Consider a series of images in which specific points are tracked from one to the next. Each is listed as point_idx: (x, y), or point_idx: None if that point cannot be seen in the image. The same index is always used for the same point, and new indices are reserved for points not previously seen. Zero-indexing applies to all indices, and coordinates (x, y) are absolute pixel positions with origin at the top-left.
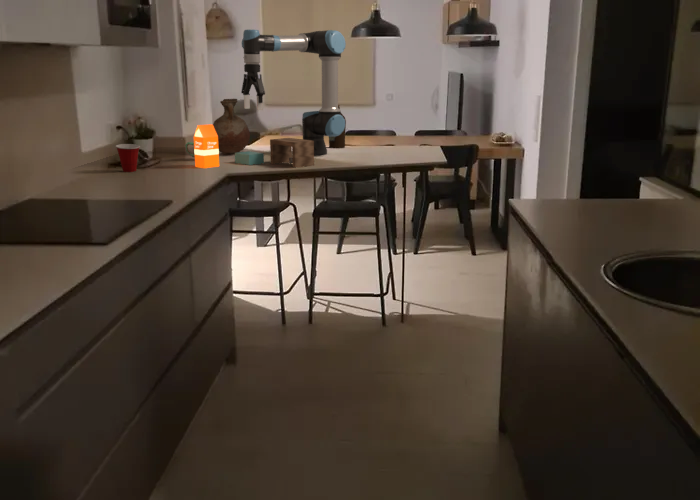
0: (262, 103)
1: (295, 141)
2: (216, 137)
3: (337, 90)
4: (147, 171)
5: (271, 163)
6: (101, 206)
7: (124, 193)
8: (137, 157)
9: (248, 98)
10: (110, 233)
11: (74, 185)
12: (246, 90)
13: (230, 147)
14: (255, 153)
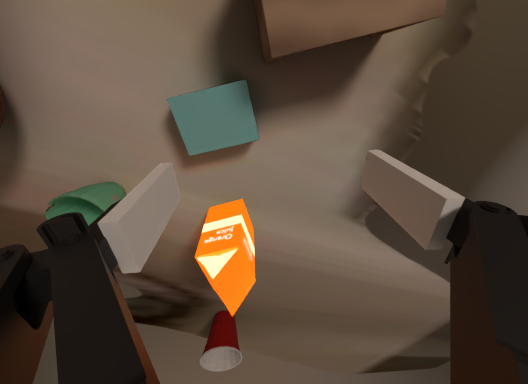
0: (407, 168)
1: None
2: (241, 247)
3: None
4: None
5: (268, 62)
6: (431, 351)
7: (389, 335)
8: (227, 330)
9: (142, 212)
10: None
11: (305, 359)
12: (127, 307)
13: (3, 103)
14: (236, 106)
